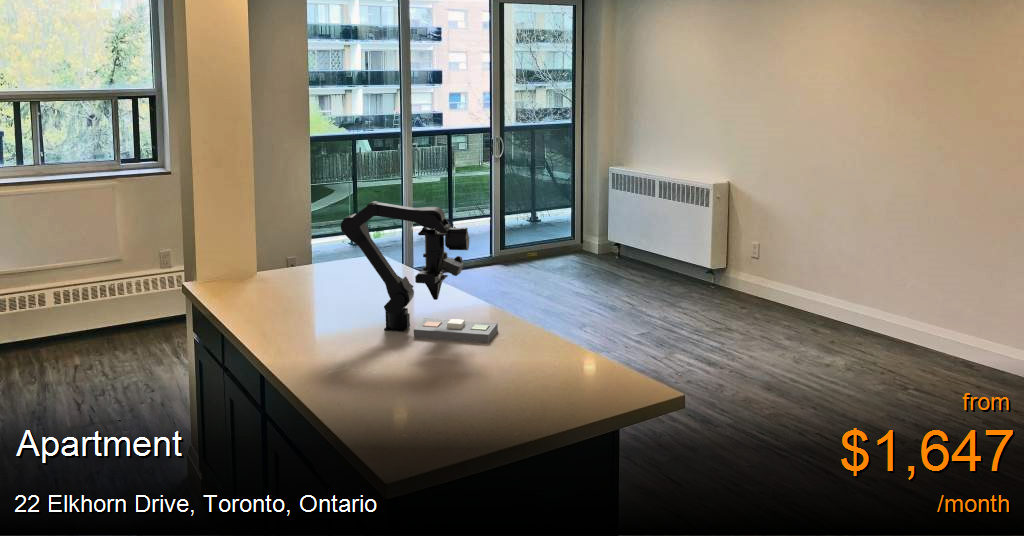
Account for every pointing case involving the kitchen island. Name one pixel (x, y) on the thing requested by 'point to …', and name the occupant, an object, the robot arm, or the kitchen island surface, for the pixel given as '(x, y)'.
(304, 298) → the kitchen island surface
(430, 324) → the terracotta button
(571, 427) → the kitchen island surface
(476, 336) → the button panel
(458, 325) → the cream button
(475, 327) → the sage button
